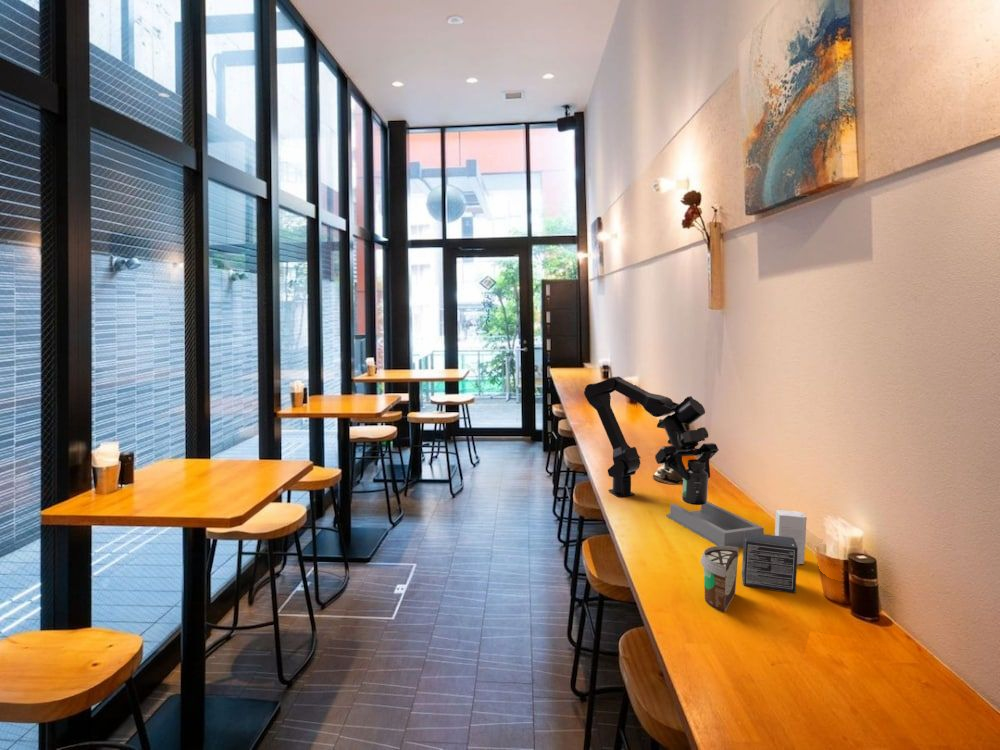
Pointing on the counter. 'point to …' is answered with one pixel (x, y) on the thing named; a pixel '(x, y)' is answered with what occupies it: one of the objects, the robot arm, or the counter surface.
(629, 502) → the counter surface
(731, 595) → the food container
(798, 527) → the skincare box
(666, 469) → the skull
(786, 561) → the small box
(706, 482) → the supplement bottle
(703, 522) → the gray rectangular tray
